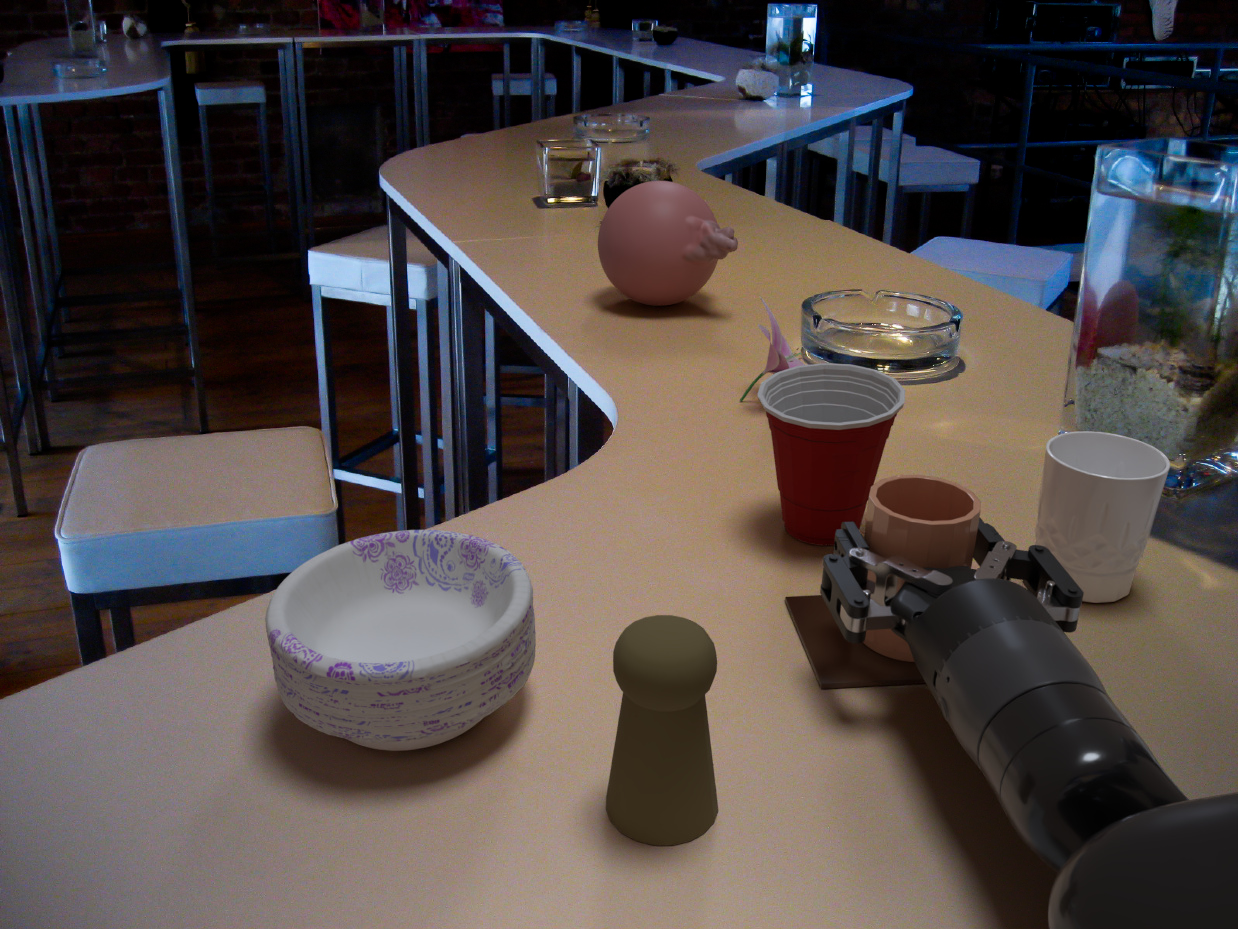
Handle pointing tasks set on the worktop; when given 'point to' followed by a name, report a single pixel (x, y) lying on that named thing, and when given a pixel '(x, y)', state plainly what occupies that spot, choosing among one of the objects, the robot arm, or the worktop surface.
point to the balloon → (661, 243)
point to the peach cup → (918, 534)
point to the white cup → (1099, 508)
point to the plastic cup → (828, 442)
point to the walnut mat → (843, 651)
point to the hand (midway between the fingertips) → (907, 531)
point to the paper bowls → (402, 637)
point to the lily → (776, 351)
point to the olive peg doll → (663, 732)
